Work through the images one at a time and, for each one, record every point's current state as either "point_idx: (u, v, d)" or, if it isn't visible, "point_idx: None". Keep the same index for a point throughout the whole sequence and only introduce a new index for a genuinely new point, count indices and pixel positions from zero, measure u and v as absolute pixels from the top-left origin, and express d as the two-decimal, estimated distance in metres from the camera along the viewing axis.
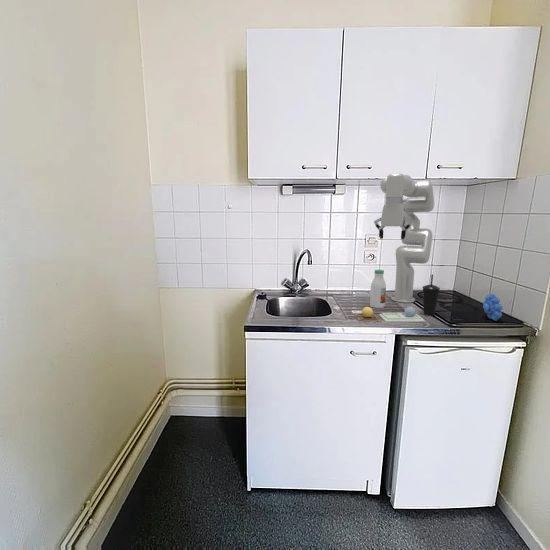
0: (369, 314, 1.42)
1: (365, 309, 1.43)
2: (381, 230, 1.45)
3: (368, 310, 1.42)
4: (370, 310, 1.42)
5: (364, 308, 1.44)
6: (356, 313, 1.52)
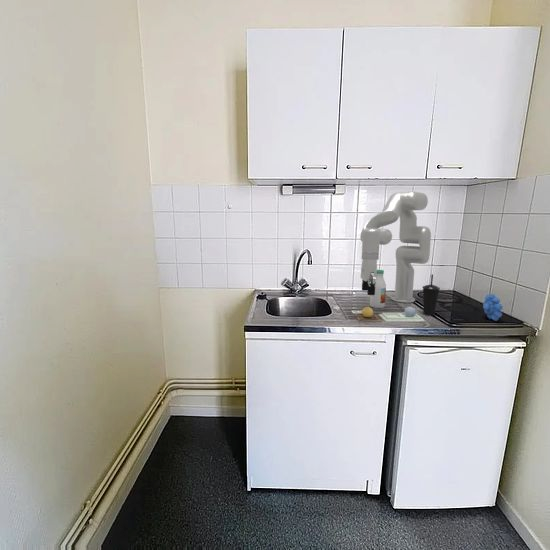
0: (369, 314, 1.42)
1: (365, 309, 1.43)
2: None
3: (368, 310, 1.42)
4: (370, 310, 1.42)
5: (364, 308, 1.44)
6: (356, 313, 1.52)
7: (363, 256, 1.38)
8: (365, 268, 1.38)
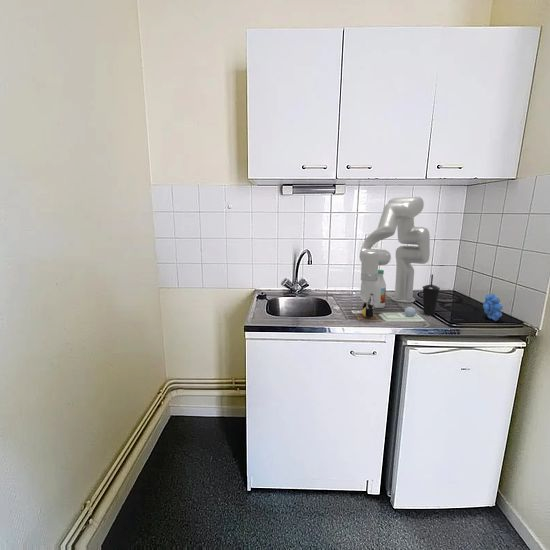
0: None
1: (365, 309, 1.43)
2: None
3: None
4: None
5: (364, 308, 1.44)
6: (356, 313, 1.52)
7: (362, 278, 1.40)
8: (364, 289, 1.39)
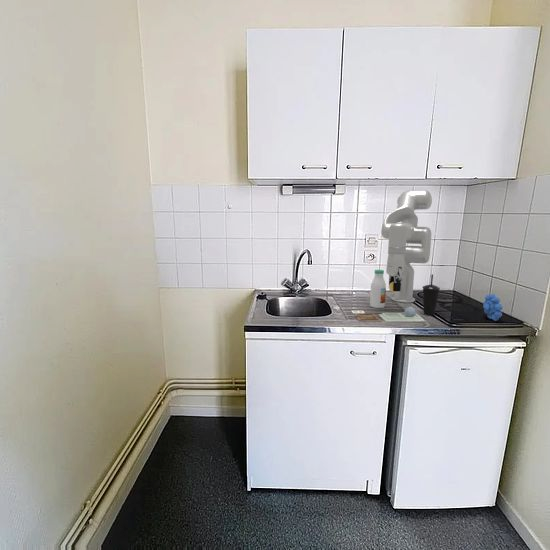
0: None
1: (392, 283, 1.41)
2: None
3: None
4: None
5: (391, 283, 1.42)
6: (356, 313, 1.52)
7: (390, 251, 1.38)
8: (392, 263, 1.37)
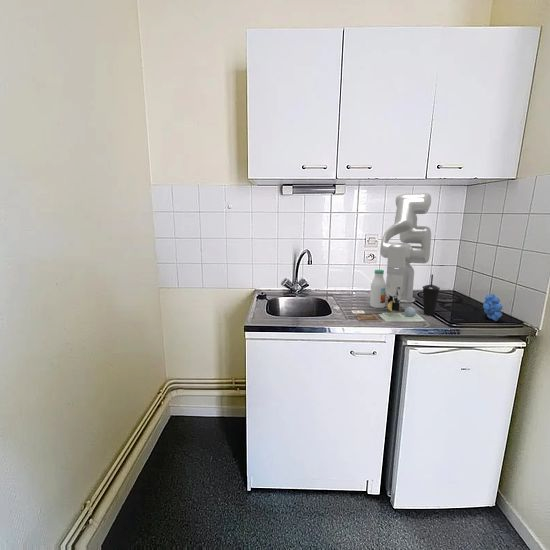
0: None
1: (391, 303, 1.42)
2: None
3: None
4: None
5: (390, 302, 1.43)
6: (356, 313, 1.52)
7: (389, 271, 1.39)
8: (391, 283, 1.39)
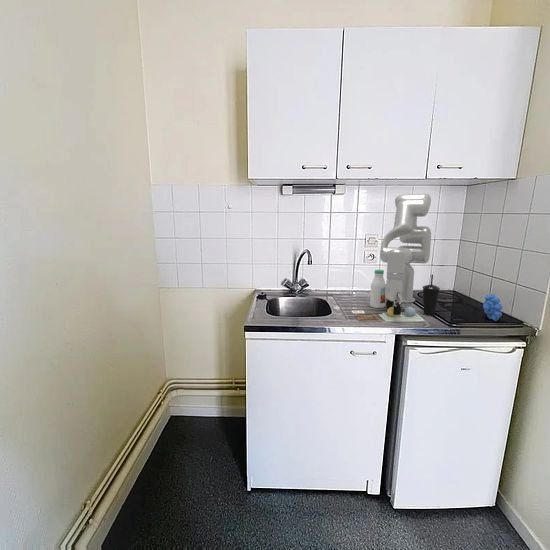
0: None
1: (391, 309, 1.43)
2: None
3: None
4: None
5: (389, 308, 1.44)
6: (356, 313, 1.52)
7: (388, 276, 1.40)
8: (391, 288, 1.39)
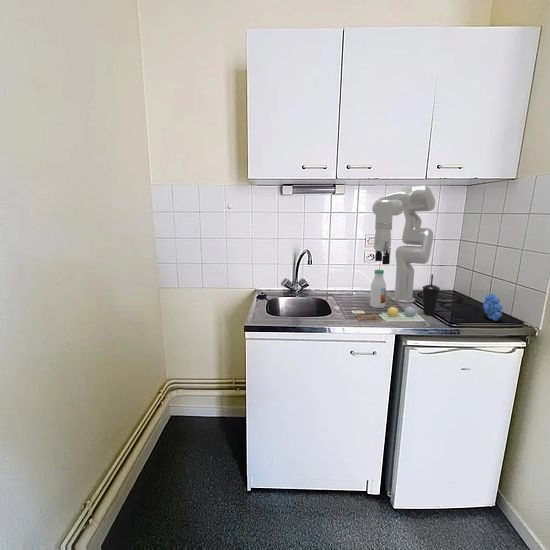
0: (395, 314, 1.42)
1: (391, 309, 1.43)
2: None
3: (394, 310, 1.42)
4: (396, 310, 1.42)
5: (390, 308, 1.44)
6: (356, 313, 1.52)
7: (377, 227, 1.42)
8: (379, 238, 1.42)
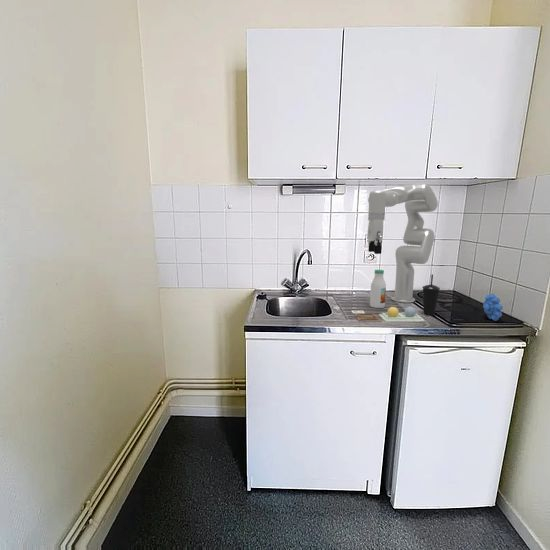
0: (395, 314, 1.42)
1: (391, 309, 1.43)
2: None
3: (394, 310, 1.42)
4: (396, 310, 1.42)
5: (390, 308, 1.44)
6: (356, 313, 1.52)
7: (370, 217, 1.45)
8: (372, 228, 1.44)
